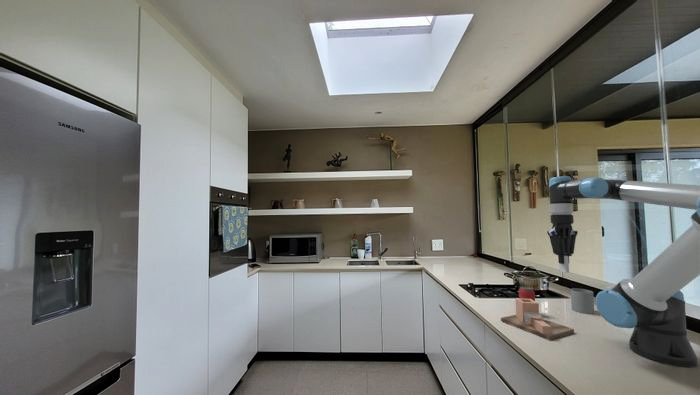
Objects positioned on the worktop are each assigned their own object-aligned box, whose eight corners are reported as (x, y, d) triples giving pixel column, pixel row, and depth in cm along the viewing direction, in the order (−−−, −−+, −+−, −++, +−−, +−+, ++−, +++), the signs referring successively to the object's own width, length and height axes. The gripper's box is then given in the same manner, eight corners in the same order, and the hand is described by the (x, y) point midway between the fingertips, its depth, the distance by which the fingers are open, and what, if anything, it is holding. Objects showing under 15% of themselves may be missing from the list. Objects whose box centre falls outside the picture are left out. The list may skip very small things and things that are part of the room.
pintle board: (574, 333, 109) (573, 313, 110) (549, 340, 103) (548, 319, 103) (524, 316, 128) (524, 299, 128) (500, 321, 121) (500, 303, 122)
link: (516, 316, 123) (515, 298, 124) (531, 317, 122) (530, 298, 123) (537, 333, 105) (537, 312, 106) (556, 334, 104) (555, 313, 105)
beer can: (530, 311, 134) (529, 286, 135) (538, 316, 128) (537, 289, 129) (516, 310, 135) (515, 285, 136) (523, 315, 128) (522, 289, 129)
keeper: (525, 327, 115) (524, 311, 115) (540, 329, 113) (539, 313, 113) (526, 330, 112) (525, 313, 112) (542, 332, 110) (541, 315, 110)
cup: (568, 309, 137) (567, 289, 137) (577, 307, 140) (576, 287, 141) (588, 315, 129) (587, 293, 130) (597, 312, 132) (596, 291, 133)
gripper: (565, 214, 119) (568, 269, 117) (540, 214, 116) (542, 270, 114) (583, 214, 111) (586, 273, 110) (557, 213, 109) (559, 274, 107)
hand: (564, 271), depth 112 cm, fingers closed
